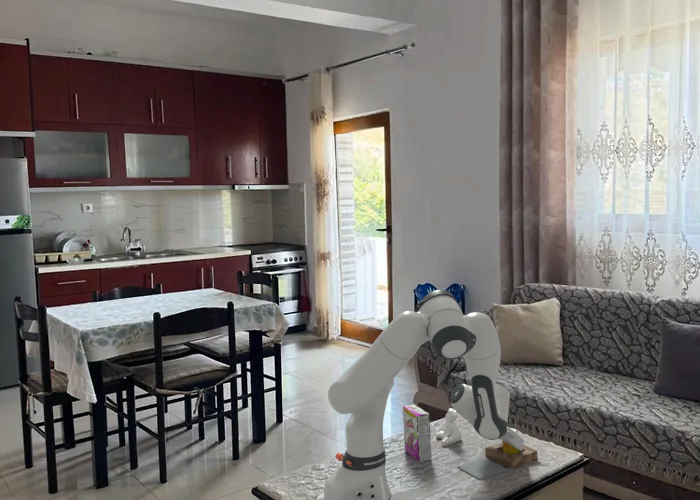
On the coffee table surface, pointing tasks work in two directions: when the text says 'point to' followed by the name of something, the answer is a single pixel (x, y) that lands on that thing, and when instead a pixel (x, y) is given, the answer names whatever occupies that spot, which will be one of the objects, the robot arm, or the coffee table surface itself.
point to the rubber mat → (482, 468)
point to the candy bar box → (417, 432)
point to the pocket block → (510, 456)
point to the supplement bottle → (510, 447)
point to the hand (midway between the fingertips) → (512, 443)
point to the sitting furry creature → (450, 429)
